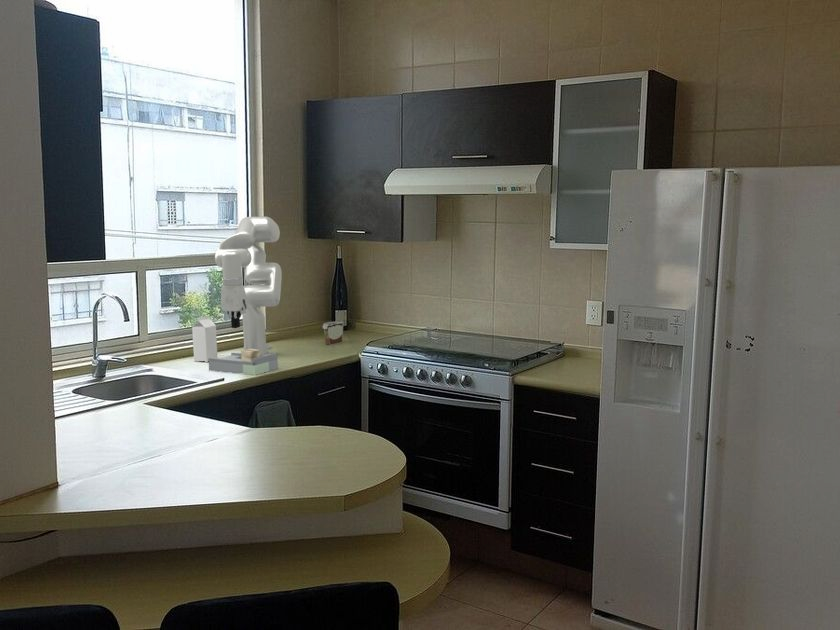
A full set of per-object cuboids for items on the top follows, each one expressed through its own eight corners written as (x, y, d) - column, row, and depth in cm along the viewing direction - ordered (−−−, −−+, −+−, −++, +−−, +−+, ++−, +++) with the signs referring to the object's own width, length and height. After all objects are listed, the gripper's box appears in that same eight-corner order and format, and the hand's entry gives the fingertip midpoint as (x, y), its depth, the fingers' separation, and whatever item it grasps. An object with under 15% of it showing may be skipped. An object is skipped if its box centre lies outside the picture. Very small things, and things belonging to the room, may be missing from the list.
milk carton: (217, 359, 350) (215, 316, 347) (207, 362, 344) (204, 318, 341) (204, 358, 353) (202, 315, 350) (193, 361, 346) (191, 317, 344)
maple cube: (250, 361, 323) (250, 348, 322) (259, 362, 320) (259, 350, 319) (241, 363, 319) (241, 350, 318) (250, 364, 316) (250, 352, 315)
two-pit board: (232, 364, 338) (231, 349, 337) (277, 368, 327) (277, 352, 326) (209, 370, 326) (208, 354, 325) (255, 375, 315) (254, 358, 314)
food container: (335, 341, 393) (334, 320, 392) (344, 342, 390) (343, 321, 388) (317, 344, 383) (316, 324, 382) (327, 345, 380) (326, 324, 378)
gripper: (212, 282, 321) (215, 327, 324) (241, 284, 313) (243, 330, 317) (225, 280, 327) (228, 324, 330) (253, 281, 320) (256, 327, 323)
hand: (235, 327), depth 323 cm, fingers closed
